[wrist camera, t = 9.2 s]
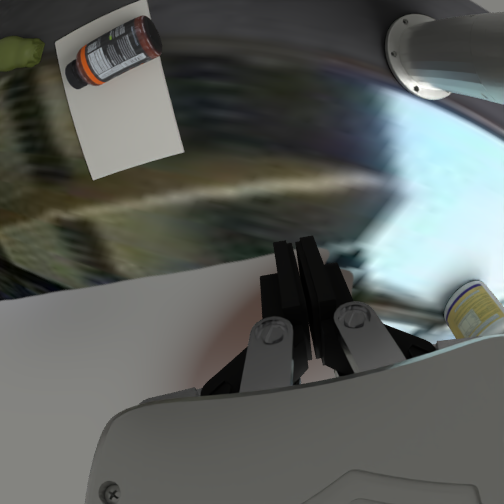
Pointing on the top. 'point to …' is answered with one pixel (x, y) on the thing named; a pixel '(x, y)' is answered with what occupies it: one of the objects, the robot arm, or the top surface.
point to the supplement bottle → (114, 53)
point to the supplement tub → (474, 312)
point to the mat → (120, 105)
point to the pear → (19, 52)
